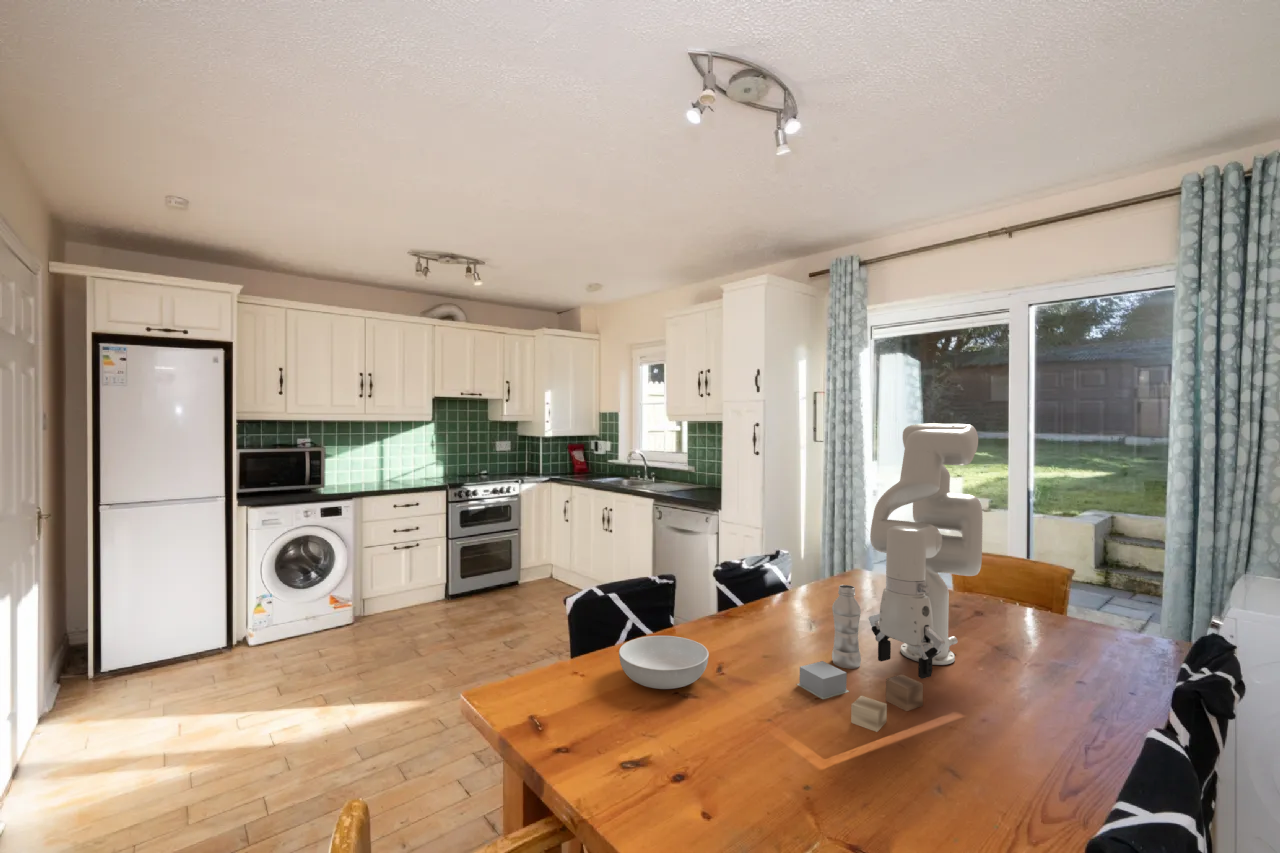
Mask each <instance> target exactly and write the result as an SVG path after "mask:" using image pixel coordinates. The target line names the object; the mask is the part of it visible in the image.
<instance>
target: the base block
mask: <svg viewBox="0 0 1280 853" xmlns="http://www.w3.org/2000/svg"><path fill="white" fill-rule="evenodd" d="M847 675H848V674H847V672H846V671H844V670H842V669H840V668H838V667H836V666H835V665H832V664H830V663H828V662H825V661H824V660H821V661H816V662H813V663H809V664H806V665H805V664H804V665H801V666H799V683H800V685H801V686H803V687H805V688H807V689H808V690H810V691H812V692H814V693H815V694H817V695H819V696H821V697H822V698H824V697H828V696H831V695H834V694H838V693H841V692H844V691H846V690H847V682H848V680H847V677H848V676H847Z"/></svg>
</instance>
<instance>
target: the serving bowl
mask: <svg viewBox="0 0 1280 853" xmlns="http://www.w3.org/2000/svg"><path fill="white" fill-rule="evenodd" d="M709 655H710V653H709V650H708V649H707V647H706V646H704V644H702V643H700V642H697V641H695V640H693V639H689V638H686V637H682V636H681V637H680V636H673V635H648V636H641V637H637V638H635V639H631V640H629V641H627V642H625V643H623V644H622V645H621V646H620V648H619V649H618V656H619V657H618V658H619V662H620V665H621V668H622V670H623V672H624V673H625V674H626V675H627V677H629V679H631V681H633V682H634V683H637V684H639V685H641V686H644V687H646V688H650V689H651V688H652V689H659V690H673V689H678V688H682V687H686V686H689V685H691V684H693V683H694V682H696V681H697V680H698V679H700V678H701V677H702V675H703V674H704V673H705V670H706V669H707V666H708V662H709Z"/></svg>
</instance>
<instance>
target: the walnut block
mask: <svg viewBox="0 0 1280 853" xmlns="http://www.w3.org/2000/svg"><path fill="white" fill-rule="evenodd" d="M923 684H924V683H922V682H920V681H918V680H916V679H914V678H911V677H909V676H906V675H904V674H903V673H901V674H898V675H895V676H891V677H888V678H886V679H885V701H886V702H887V703H889V704H891V705H894V706H895V707H897V708H899V709H901V710H903V711H905V712H908V711H911V710H914V709H917V708H920V707H923V706H924V704H923V703H924V701H923V700H924V698H923V693H924V690H923V688H924V687H923V686H924V685H923Z"/></svg>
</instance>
